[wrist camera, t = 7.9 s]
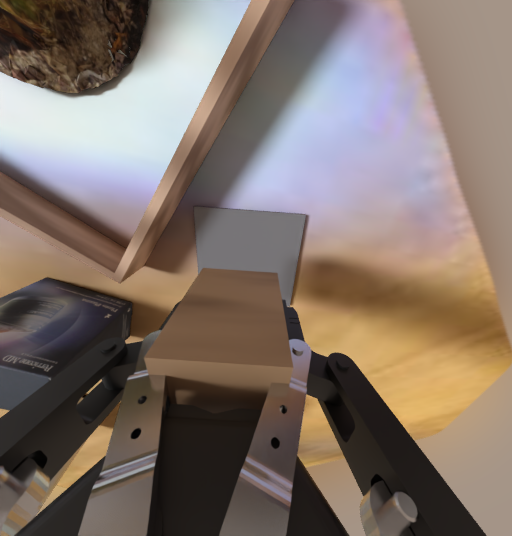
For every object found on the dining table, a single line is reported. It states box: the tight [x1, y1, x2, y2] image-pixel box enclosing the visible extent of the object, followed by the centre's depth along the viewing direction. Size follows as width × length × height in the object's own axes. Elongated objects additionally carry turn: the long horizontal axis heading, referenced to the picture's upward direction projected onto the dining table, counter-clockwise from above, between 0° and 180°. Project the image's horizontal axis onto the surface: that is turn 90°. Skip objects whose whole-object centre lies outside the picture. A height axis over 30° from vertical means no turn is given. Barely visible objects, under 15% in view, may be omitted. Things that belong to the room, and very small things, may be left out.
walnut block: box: [144, 268, 293, 413], centre depth 10 cm, size 5×5×7 cm
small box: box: [0, 278, 132, 410], centre depth 20 cm, size 11×6×10 cm, turn 70°
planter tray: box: [0, 0, 294, 283], centre depth 12 cm, size 26×26×4 cm
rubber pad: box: [194, 206, 306, 307], centre depth 21 cm, size 11×11×1 cm
